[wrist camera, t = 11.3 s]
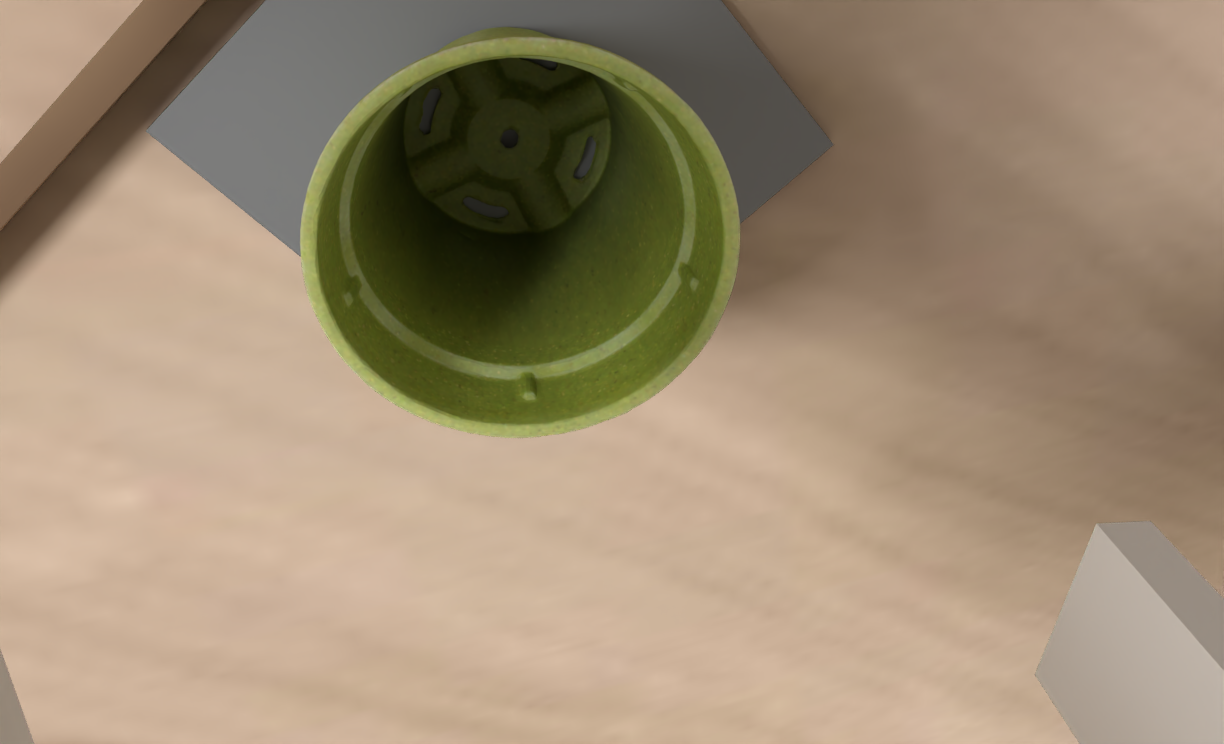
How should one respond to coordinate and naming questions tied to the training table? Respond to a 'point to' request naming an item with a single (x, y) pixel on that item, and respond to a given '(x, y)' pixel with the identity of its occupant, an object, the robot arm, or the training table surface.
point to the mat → (412, 29)
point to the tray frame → (89, 98)
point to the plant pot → (520, 237)
